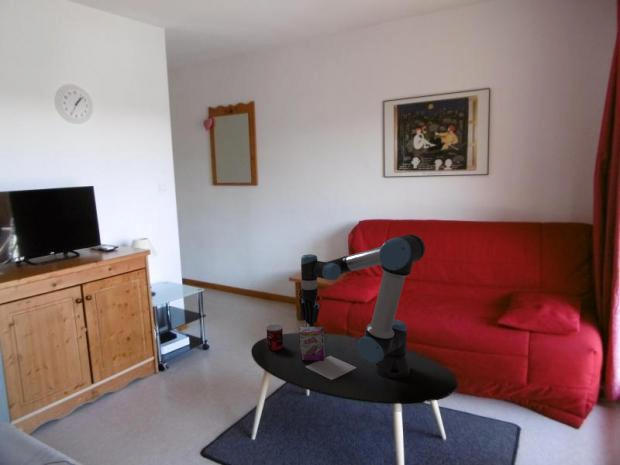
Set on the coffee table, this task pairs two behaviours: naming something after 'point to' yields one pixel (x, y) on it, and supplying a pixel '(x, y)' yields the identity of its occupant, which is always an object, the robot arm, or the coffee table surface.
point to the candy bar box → (311, 343)
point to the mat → (331, 367)
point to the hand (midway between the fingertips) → (310, 335)
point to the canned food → (274, 337)
